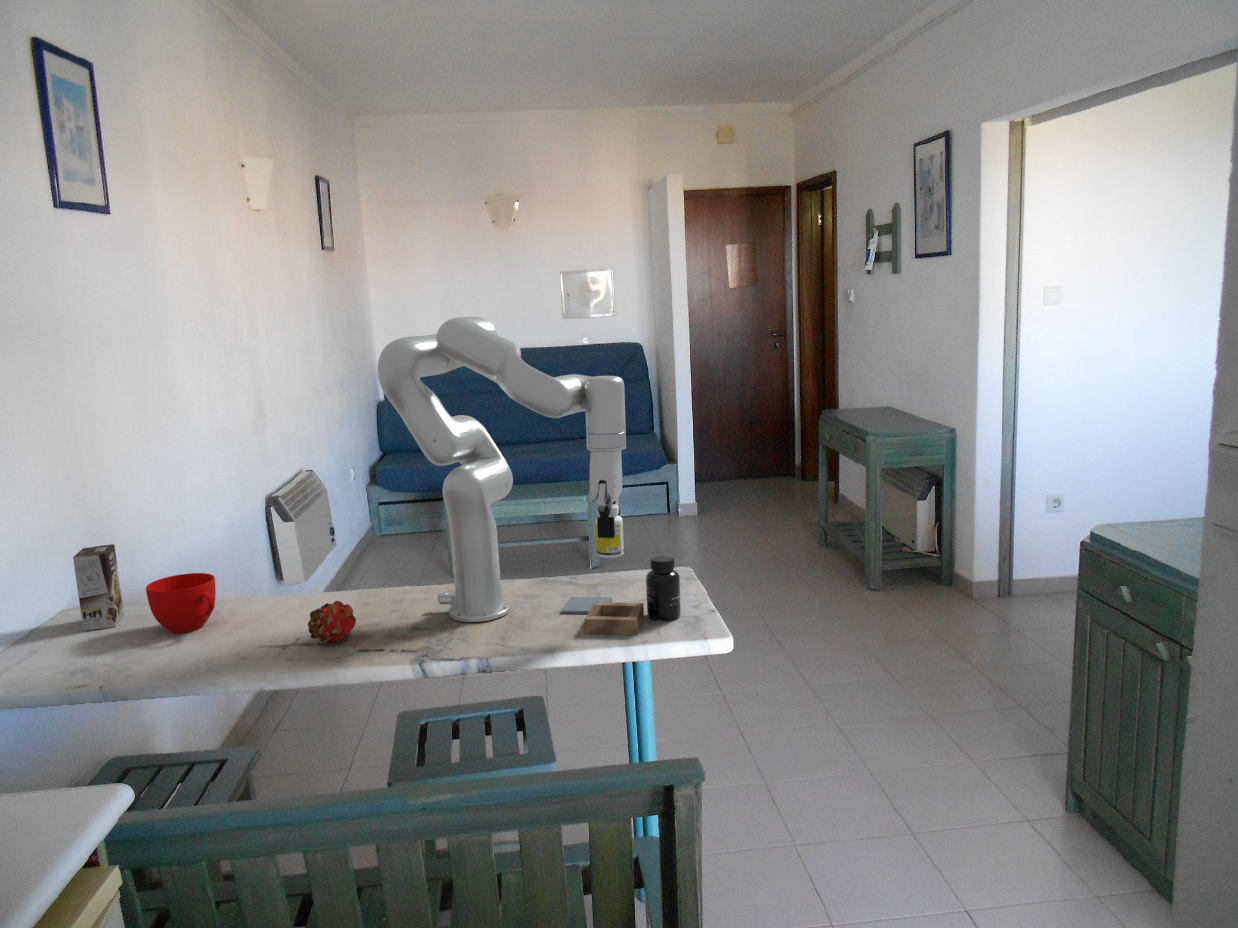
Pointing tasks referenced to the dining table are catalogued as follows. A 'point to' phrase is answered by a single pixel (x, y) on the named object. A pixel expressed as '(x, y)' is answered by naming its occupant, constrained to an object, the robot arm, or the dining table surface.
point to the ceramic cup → (182, 601)
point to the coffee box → (98, 587)
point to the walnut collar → (614, 618)
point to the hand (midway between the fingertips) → (609, 532)
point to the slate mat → (583, 604)
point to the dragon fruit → (331, 622)
